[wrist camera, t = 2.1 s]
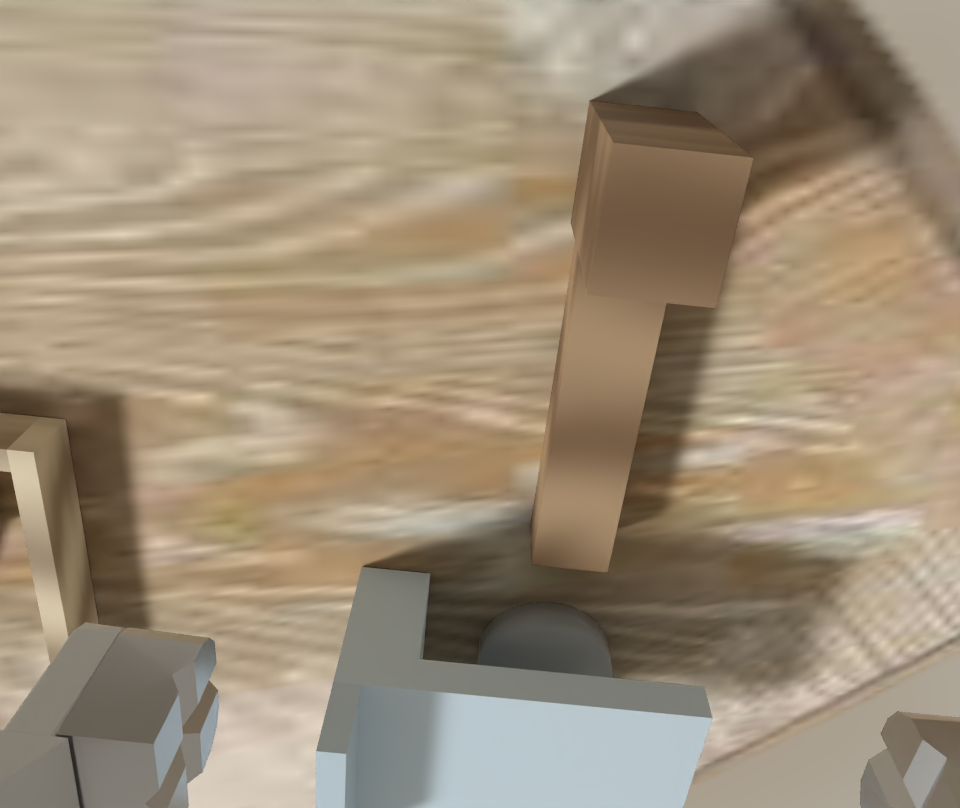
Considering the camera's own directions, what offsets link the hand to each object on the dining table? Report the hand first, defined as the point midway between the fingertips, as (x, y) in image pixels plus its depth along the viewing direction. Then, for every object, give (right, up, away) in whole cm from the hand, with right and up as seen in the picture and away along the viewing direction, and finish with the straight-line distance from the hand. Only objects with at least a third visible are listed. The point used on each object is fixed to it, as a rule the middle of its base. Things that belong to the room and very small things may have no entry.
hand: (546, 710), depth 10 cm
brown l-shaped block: (+4, +6, +21) cm, 22 cm away
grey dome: (+2, -8, +28) cm, 29 cm away
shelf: (+1, -8, +28) cm, 29 cm away
